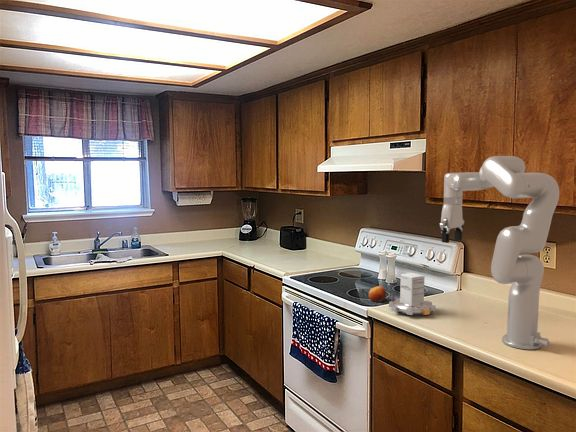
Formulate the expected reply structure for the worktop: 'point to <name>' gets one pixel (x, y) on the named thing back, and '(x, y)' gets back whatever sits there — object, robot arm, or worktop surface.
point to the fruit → (377, 294)
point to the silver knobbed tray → (412, 307)
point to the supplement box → (412, 289)
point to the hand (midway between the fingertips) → (451, 241)
